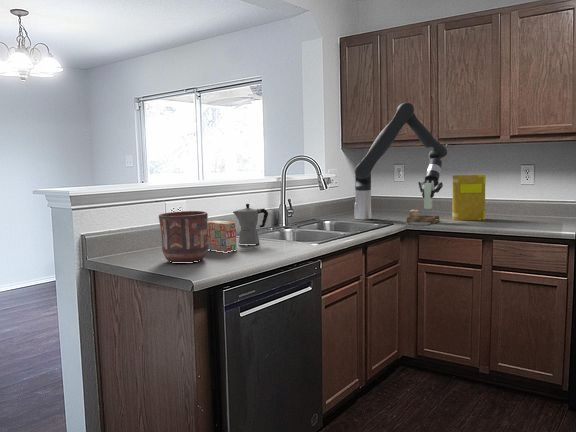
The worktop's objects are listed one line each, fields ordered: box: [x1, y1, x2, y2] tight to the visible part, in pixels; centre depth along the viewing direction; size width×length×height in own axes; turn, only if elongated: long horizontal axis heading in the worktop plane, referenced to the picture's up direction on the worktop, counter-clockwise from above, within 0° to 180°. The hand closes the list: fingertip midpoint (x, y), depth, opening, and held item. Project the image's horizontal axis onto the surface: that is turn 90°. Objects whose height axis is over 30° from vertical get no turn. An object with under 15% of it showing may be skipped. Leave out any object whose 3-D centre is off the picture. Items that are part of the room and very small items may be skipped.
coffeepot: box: [232, 203, 269, 244], centre depth 226 cm, size 15×9×18 cm, turn 92°
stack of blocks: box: [207, 219, 238, 252], centre depth 214 cm, size 21×6×12 cm, turn 52°
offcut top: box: [408, 209, 420, 217], centre depth 288 cm, size 4×8×2 cm, turn 155°
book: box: [451, 174, 487, 221], centre depth 290 cm, size 17×7×25 cm, turn 84°
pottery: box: [158, 210, 209, 262], centre depth 192 cm, size 18×18×18 cm
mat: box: [408, 222, 432, 226], centre depth 277 cm, size 10×8×1 cm
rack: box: [406, 214, 440, 225], centre depth 286 cm, size 15×12×3 cm
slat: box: [423, 183, 433, 210], centre depth 284 cm, size 4×4×14 cm
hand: (427, 197), depth 282 cm, fingers closed on slat, 3 cm apart
